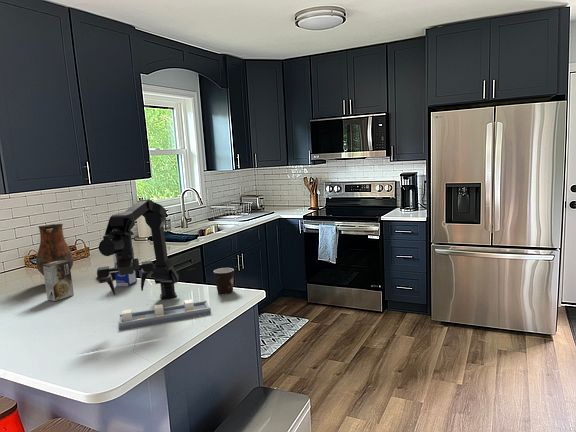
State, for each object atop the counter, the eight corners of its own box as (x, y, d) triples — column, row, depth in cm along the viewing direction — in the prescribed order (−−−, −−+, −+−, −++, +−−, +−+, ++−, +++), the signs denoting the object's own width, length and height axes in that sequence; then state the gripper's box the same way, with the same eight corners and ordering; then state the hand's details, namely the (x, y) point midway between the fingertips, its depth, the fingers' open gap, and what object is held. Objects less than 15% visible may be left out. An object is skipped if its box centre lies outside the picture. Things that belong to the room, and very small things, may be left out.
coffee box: (66, 293, 198) (61, 259, 196) (74, 295, 194) (70, 260, 192) (46, 299, 190) (41, 264, 188) (54, 301, 187) (50, 265, 185)
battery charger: (121, 279, 219) (120, 271, 218) (101, 283, 214) (100, 275, 213) (116, 274, 230) (116, 267, 229) (97, 277, 225) (96, 270, 224)
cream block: (184, 308, 164) (183, 300, 163) (192, 307, 165) (191, 299, 164) (185, 311, 160) (185, 303, 160) (194, 310, 161) (193, 302, 161)
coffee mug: (226, 288, 191) (224, 266, 190) (239, 291, 186) (237, 269, 184) (205, 296, 182) (203, 273, 181) (219, 299, 177) (217, 275, 175)
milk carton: (116, 286, 205) (111, 245, 202) (124, 282, 211) (120, 242, 209) (129, 286, 203) (124, 245, 200) (137, 282, 210) (133, 242, 207)
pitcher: (76, 276, 229) (69, 221, 225) (75, 286, 210) (67, 225, 206) (40, 281, 222) (33, 224, 218) (36, 292, 203) (28, 229, 199)
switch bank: (120, 320, 159) (119, 314, 159) (206, 305, 170) (206, 300, 169) (119, 329, 150) (119, 323, 149) (211, 313, 160) (210, 307, 160)
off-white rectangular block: (154, 313, 160) (153, 305, 160) (163, 312, 161) (162, 304, 161) (155, 316, 156) (154, 308, 156) (163, 315, 157) (163, 307, 157)
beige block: (123, 318, 156) (122, 310, 156) (132, 317, 157) (131, 309, 157) (123, 322, 153) (122, 313, 152) (132, 320, 154) (131, 312, 153)
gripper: (94, 257, 140) (99, 303, 142) (153, 250, 147) (157, 294, 149) (95, 251, 150) (100, 294, 152) (150, 245, 157) (154, 286, 159)
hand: (128, 292), depth 153 cm, fingers open, 9 cm apart
